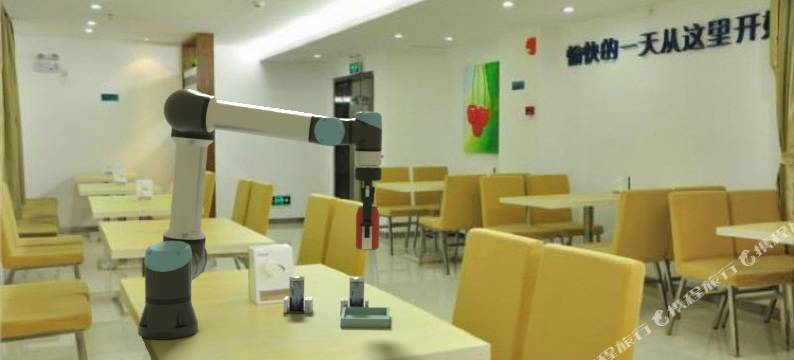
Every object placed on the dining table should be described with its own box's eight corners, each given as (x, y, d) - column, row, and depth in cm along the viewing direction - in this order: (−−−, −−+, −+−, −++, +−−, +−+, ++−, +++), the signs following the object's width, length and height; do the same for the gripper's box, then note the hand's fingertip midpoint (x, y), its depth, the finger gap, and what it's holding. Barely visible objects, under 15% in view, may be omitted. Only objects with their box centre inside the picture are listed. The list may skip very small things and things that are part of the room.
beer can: (375, 251, 197) (376, 208, 196) (353, 250, 198) (353, 207, 197) (381, 247, 203) (381, 206, 202) (358, 246, 204) (359, 205, 204)
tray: (389, 327, 195) (389, 319, 195) (340, 326, 195) (340, 318, 195) (389, 315, 209) (389, 307, 208) (343, 314, 208) (343, 306, 208)
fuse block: (368, 314, 209) (368, 279, 208) (283, 313, 209) (283, 278, 208) (368, 310, 214) (369, 276, 214) (285, 309, 214) (286, 275, 213)
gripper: (381, 168, 189) (380, 252, 191) (381, 165, 209) (380, 242, 210) (353, 167, 189) (352, 252, 191) (356, 165, 209) (355, 241, 210)
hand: (367, 247), depth 200 cm, fingers closed on beer can, 7 cm apart
